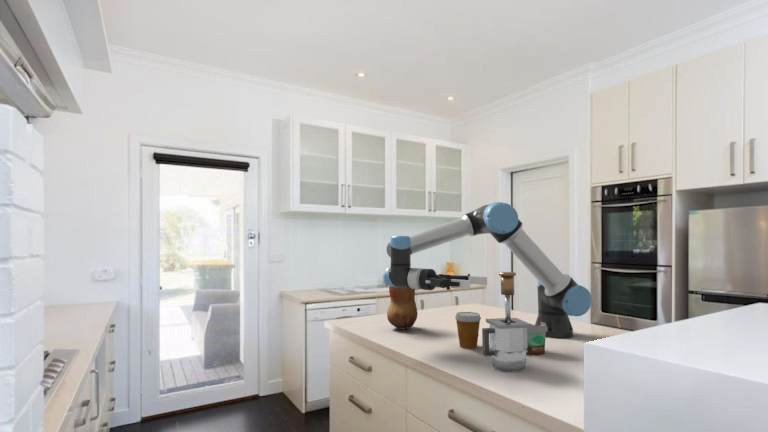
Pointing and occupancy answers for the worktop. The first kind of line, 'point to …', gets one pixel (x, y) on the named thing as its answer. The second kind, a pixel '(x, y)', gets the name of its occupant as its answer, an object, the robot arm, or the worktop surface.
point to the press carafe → (506, 344)
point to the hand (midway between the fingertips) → (478, 282)
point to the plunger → (507, 291)
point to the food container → (536, 339)
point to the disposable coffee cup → (468, 329)
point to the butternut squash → (402, 307)
